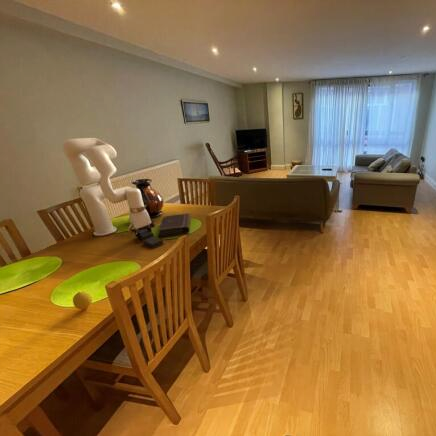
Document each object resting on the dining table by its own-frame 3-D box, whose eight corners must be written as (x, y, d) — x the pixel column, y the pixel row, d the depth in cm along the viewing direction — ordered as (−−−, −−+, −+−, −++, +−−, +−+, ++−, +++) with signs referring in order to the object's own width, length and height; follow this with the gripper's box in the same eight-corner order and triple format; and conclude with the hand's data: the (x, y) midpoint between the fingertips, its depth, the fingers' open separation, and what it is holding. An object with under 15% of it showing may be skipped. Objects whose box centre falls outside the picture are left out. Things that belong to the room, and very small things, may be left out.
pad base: (144, 244, 144) (142, 240, 143) (153, 240, 148) (152, 236, 147) (153, 248, 139) (152, 244, 138) (163, 243, 143) (162, 240, 142)
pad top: (139, 231, 160) (138, 228, 159) (135, 229, 163) (134, 226, 162) (154, 226, 168) (153, 222, 166) (149, 224, 170) (148, 221, 169)
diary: (190, 219, 178) (189, 212, 176) (189, 232, 157) (188, 226, 155) (163, 222, 173) (161, 216, 171) (158, 237, 151) (156, 230, 149)
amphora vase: (142, 211, 195) (133, 177, 184) (170, 210, 197) (162, 176, 186) (129, 222, 175) (117, 185, 164) (160, 220, 177) (150, 183, 166)
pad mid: (135, 236, 151) (134, 232, 150) (145, 232, 156) (144, 229, 154) (144, 240, 146) (143, 236, 145) (153, 236, 151) (152, 232, 150)
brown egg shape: (83, 303, 97) (76, 288, 94) (98, 302, 98) (91, 287, 95) (73, 314, 92) (65, 297, 89) (88, 313, 93) (81, 296, 89)
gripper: (148, 203, 152) (154, 229, 159) (118, 212, 139) (126, 239, 146) (155, 206, 148) (161, 232, 155) (125, 215, 135) (133, 243, 142)
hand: (144, 235), depth 150 cm, fingers closed on pad mid, 6 cm apart
